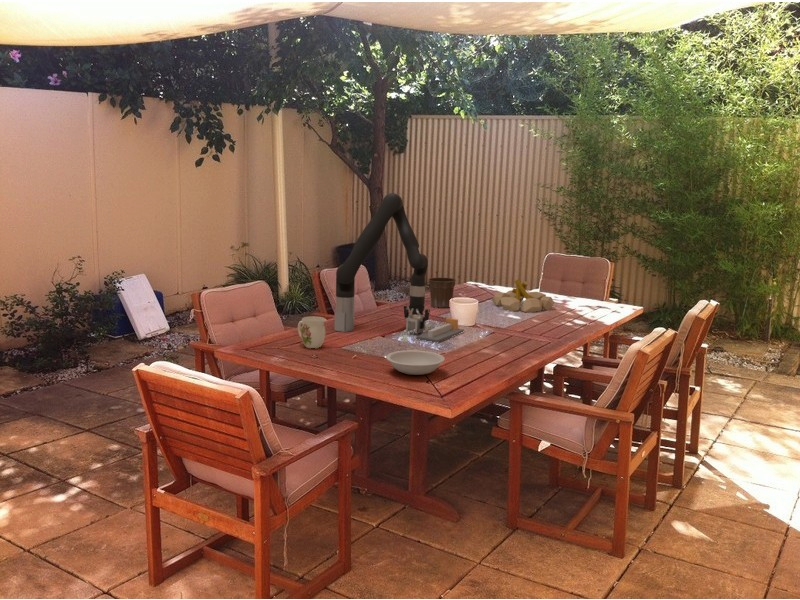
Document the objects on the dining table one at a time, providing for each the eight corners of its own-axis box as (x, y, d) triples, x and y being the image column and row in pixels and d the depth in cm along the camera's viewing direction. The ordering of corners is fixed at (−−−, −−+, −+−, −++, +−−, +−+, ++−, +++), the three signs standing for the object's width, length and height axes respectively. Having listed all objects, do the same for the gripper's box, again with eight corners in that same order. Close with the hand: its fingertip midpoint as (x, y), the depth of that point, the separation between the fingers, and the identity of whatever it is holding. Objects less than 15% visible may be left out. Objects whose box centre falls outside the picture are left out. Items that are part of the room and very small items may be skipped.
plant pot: (423, 307, 458) (424, 280, 455) (432, 302, 473) (433, 276, 470) (449, 310, 452) (450, 282, 449) (458, 305, 467) (459, 278, 464)
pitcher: (306, 341, 369) (307, 312, 367) (334, 347, 358) (334, 318, 355) (289, 344, 361) (289, 315, 358) (316, 352, 350) (317, 322, 347)
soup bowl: (425, 362, 337) (426, 347, 336) (455, 377, 317) (455, 361, 315) (375, 368, 326) (376, 353, 325) (403, 384, 305) (403, 367, 304)
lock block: (416, 333, 385) (417, 319, 384) (405, 331, 388) (406, 317, 387) (426, 329, 393) (426, 316, 392) (415, 328, 396) (416, 314, 395)
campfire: (484, 302, 479) (486, 275, 476) (534, 301, 489) (536, 274, 486) (509, 314, 446) (511, 285, 443) (562, 312, 457) (564, 283, 453)
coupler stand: (438, 343, 373) (438, 329, 371) (416, 339, 378) (416, 326, 377) (463, 332, 396) (464, 319, 395) (442, 329, 402) (443, 316, 401)
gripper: (400, 293, 387) (399, 326, 390) (426, 297, 380) (424, 331, 383) (408, 291, 394) (407, 324, 397) (433, 295, 387) (432, 328, 390)
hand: (415, 327), depth 390 cm, fingers closed on lock block, 6 cm apart
